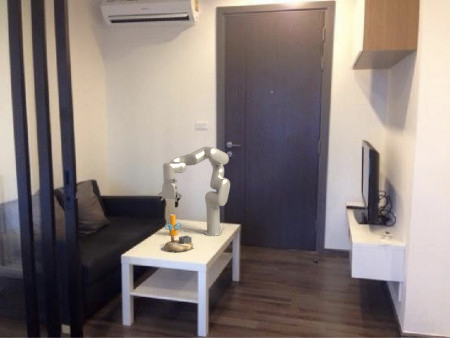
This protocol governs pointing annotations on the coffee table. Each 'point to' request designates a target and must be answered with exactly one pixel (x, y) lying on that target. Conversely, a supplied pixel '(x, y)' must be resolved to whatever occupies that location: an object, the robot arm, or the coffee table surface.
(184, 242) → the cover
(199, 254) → the coffee table surface
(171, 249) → the turntable
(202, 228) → the coffee table surface
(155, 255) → the coffee table surface
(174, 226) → the cylinder
